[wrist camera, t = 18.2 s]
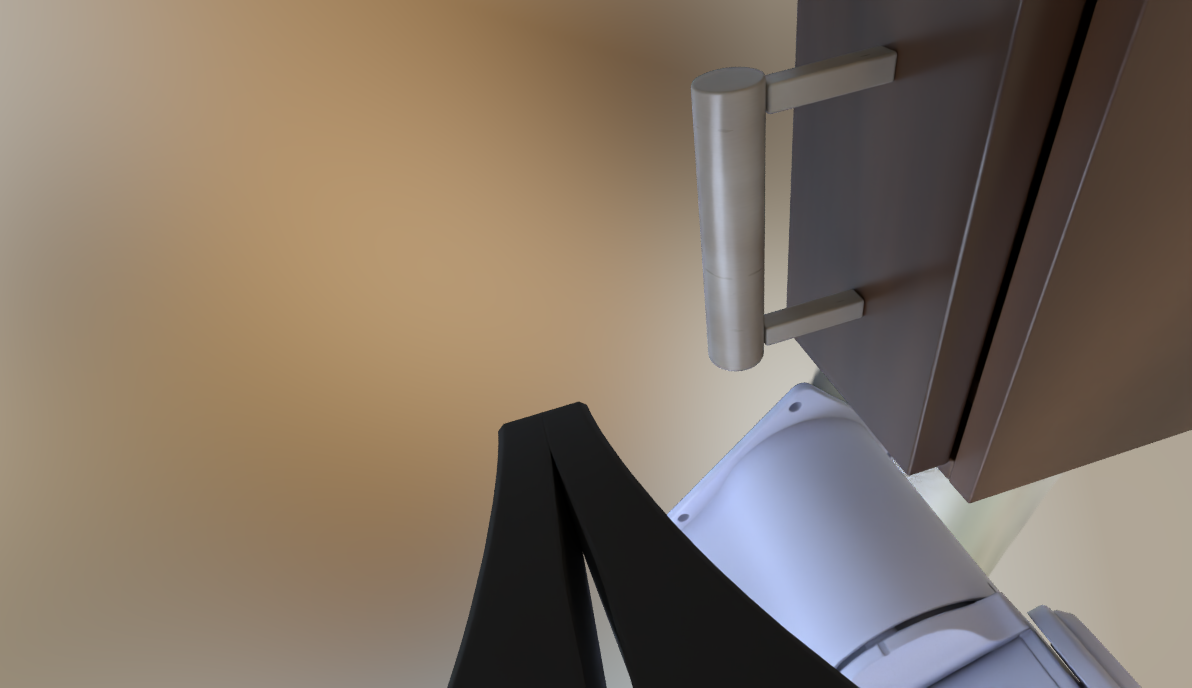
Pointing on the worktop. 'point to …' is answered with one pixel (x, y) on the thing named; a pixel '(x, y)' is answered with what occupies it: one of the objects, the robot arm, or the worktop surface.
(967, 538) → the worktop surface
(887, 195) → the drawer
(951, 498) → the worktop surface
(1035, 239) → the cabinet
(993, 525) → the worktop surface
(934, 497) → the worktop surface
